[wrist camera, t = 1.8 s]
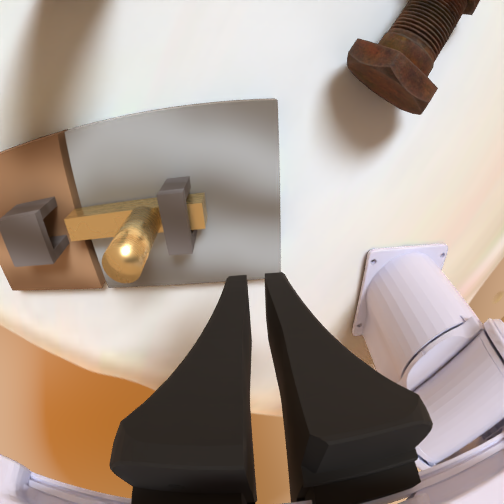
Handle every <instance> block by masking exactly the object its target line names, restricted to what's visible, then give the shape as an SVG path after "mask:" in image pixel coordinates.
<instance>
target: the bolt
mask: <svg viewBox="0 0 504 504" xmlns="http://www.w3.org/2000/svg"><path fill="white" fill-rule="evenodd" d="M479 1H480V0H410V1H409V2H408V4H407V5H406V7H405V8H404V9H403V11H402V13H401V14H400V16H399V17H398V18H397V20H396V21H395V23H394V24H393V26H392V27H391V29H390V30H389V32H388V33H386V34H385V35H384V36H383V38H382V39H381V41H380V42H379V44H376V43H373V42H369V41H366V40H362V39H357V40H356V42H355V43H354V45H353V46H352V48H351V49H350V51H349V52H348V57H347V66H348V68H349V69H350V71H351V72H352V73H353V74H354V75H355V76H356V77H357V78H358V79H359V80H360V81H361V82H362V83H363V84H365V85H366V86H367V87H368V88H369V89H371V90H372V91H373V92H375V93H376V94H378V95H379V96H380V97H382V98H383V99H385V100H386V101H388V102H390V103H391V104H393V105H394V106H396V107H397V108H399V109H401V110H404V111H407V112H409V113H412V114H418V115H421V114H422V112H423V111H424V110H425V108H426V107H427V105H428V103H429V102H430V100H431V99H432V97H433V95H434V94H435V92H436V91H437V89H438V88H437V87H436V86H435V85H434V84H433V83H432V81H431V80H430V79H429V78H428V75H429V73H430V72H431V70H432V68H433V64H434V61H435V60H436V58H437V57H438V54H439V53H440V51H441V50H442V48H443V47H444V45H445V43H446V42H447V40H448V39H449V37H450V35H451V33H452V32H453V30H454V28H455V26H456V24H457V22H458V21H459V19H460V18H461V15H462V14H468V15H472V14H473V13H474V11H475V9H476V7H477V5H478V3H479Z"/></svg>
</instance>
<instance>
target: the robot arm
mask: <svg viewBox="0 0 504 504" xmlns="http://www.w3.org/2000/svg"><path fill="white" fill-rule="evenodd" d="M447 251H448V246H447V245H446V244H445V243H440V244H428V245H416V246H403V247H390V248H378V249H372V250H370V251H369V252H368V254H367V260H366V266H365V271H364V276H363V282H362V287H361V292H360V296H359V301H358V306H357V310H356V315H355V319H354V324H353V328H352V334H353V335H354V336H360V335H363V338H364V340H365V342H366V345H367V347H368V350H369V353H370V355H371V358H372V360H373V363H374V365H375V368H376V370H374V369H373V368H371V367H370V366H369V365H367V364H366V363H365V362H363V361H362V360H360V359H359V358H358V357H356V356H355V355H354V354H353V353H351V352H350V351H349V350H348V349H347V348H346V347H344V346H343V345H342V344H341V343H340V342H339V341H338V340H337V339H336V338H335V337H334V336H332V335H331V334H330V333H329V332H328V330H327V329H326V328H325V327H324V326H323V325H322V324H321V323H320V322H319V321H318V320H317V319H316V317H315V316H314V315H313V314H312V313H311V311H310V310H309V309H308V308H307V306H306V305H305V304H304V303H303V301H302V300H301V299H300V297H299V296H298V295H297V293H296V292H295V290H294V289H293V287H292V286H291V284H290V283H289V281H288V279H287V278H286V276H285V274H284V273H282V272H277V273H265V300H266V321H267V330H268V340H269V345H270V349H271V354H272V358H273V363H274V368H275V372H276V377H277V381H278V386H279V390H280V396H281V402H282V411H283V419H284V429H285V439H286V449H287V459H288V471H289V483H290V495H291V503H284V504H388V503H392V502H394V501H398V500H401V499H403V498H406V497H408V498H407V499H406V501H403V502H401V503H398V504H504V323H503V322H502V321H501V320H500V319H491V318H489V319H488V320H487V321H486V322H485V323H484V324H483V323H481V321H480V320H479V319H478V317H477V316H476V314H475V313H474V312H473V311H472V309H471V308H470V306H469V305H468V304H467V302H466V301H465V300H464V298H463V297H462V296H461V294H460V293H459V292H458V290H457V289H456V288H455V287H454V285H453V284H452V283H451V282H450V280H449V279H448V278H447V277H446V275H445V274H444V273H443V272H442V268H443V264H444V261H445V258H446V255H447ZM373 259H375V260H374V261H373V262H371V261H372V260H373ZM251 347H252V339H251V325H250V311H249V299H248V286H247V275H236V276H229V277H228V278H227V279H226V283H225V286H224V289H223V292H222V294H221V297H220V299H219V301H218V303H217V306H216V308H215V310H214V312H213V314H212V316H211V318H210V320H209V321H208V323H207V325H206V327H205V328H204V330H203V332H202V334H201V335H200V337H199V338H198V340H197V342H196V343H195V345H194V346H193V348H192V349H191V350H190V352H189V353H188V355H187V356H186V357H185V359H184V360H183V361H182V362H181V364H180V365H179V366H178V367H177V369H176V370H175V371H174V372H173V373H172V375H171V376H170V377H169V378H168V379H167V380H166V381H165V382H164V383H163V384H162V385H161V386H160V387H159V388H158V389H157V390H156V391H155V392H154V393H153V394H152V395H151V396H150V397H149V398H148V399H147V400H146V401H145V402H144V403H143V404H142V405H140V406H139V407H138V408H137V409H136V410H134V411H133V412H132V413H131V414H130V415H128V416H127V417H126V418H125V419H123V420H122V421H121V423H120V425H119V428H118V431H117V433H116V437H115V439H114V443H113V448H112V454H111V459H110V469H111V470H112V471H113V472H114V473H115V474H116V475H117V476H118V477H120V478H121V479H123V480H124V481H125V482H127V483H128V484H130V485H132V486H133V491H132V499H129V498H123V497H118V496H113V495H108V494H104V493H100V492H95V491H91V490H87V489H83V488H80V487H76V486H72V485H69V484H66V483H63V482H59V481H56V480H53V479H50V478H47V477H45V476H42V475H39V474H36V473H34V472H31V471H30V470H29V469H28V468H26V467H25V466H23V465H21V464H20V463H18V462H16V461H14V460H12V459H10V458H8V457H5V456H3V455H1V454H0V504H255V502H256V501H257V495H256V482H255V469H254V456H253V442H252V428H251V413H250V375H251ZM417 468H419V469H420V470H421V471H420V472H418V470H417Z"/></svg>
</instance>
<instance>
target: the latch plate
mask: <svg viewBox="0 0 504 504" xmlns="http://www.w3.org/2000/svg"><path fill="white" fill-rule="evenodd" d="M204 192H205V200H206V208H207V216H208V217H207V223H206V229H196V230H191V229H190V223H189V216H188V210H187V204H186V199H187V196H188V194H194V193H204ZM156 197H157V201H158V206H159V211H160V216H161V221H162V226H163V231H164V232H161V233H158V234H157V237H156V239H155V241H154V244H153V246H152V248H151V251H150V253H149V256H148V258H147V260H146V263H145V265H144V268H143V270H142V273H141V275H140V277H139V278H138V279H137V280H136V281H134V282H132V283H120V282H117V281H115V280H113V279H112V278H110V277H109V276H108V275H107V274H106V272H105V271H104V269H103V266H102V257H103V254H104V253H105V251H106V249H107V248H108V246H109V245H110V243H111V241H112V240H113V238H114V237H109V238H99V239H89V240H80V241H71V239H70V236H69V233H68V230H67V227H66V224H65V221H64V219H65V218H66V217H67V216H68V215H69V214H70V213H71V212H72V211H73V210H74V209H75V208H82V207H88V206H95V205H102V204H109V203H116V202H123V201H131V200H139V199H147V198H156ZM0 265H1V267H2V270H3V272H4V274H5V276H6V278H7V280H8V282H9V284H10V286H11V288H12V290H56V289H89V288H102V287H103V285H104V283H105V281H106V282H107V285H108V287H109V288H115V287H137V286H157V285H176V284H193V283H209V282H225V281H226V279H227V278H228V277H229V276H236V275H247V280H253V279H265V273H277V272H281V231H280V167H279V130H278V102H277V100H276V99H274V98H273V99H249V100H233V101H221V102H210V103H201V104H192V105H184V106H177V107H170V108H164V109H157V110H151V111H146V112H140V113H135V114H130V115H125V116H120V117H115V118H111V119H106V120H102V121H98V122H94V123H90V124H86V125H82V126H78V127H75V128H72V129H70V130H68V129H67V130H64V131H60V132H57V133H54V134H50V135H47V136H44V137H41V138H38V139H35V140H32V141H29V142H26V143H23V144H21V145H18V146H15V147H12V148H10V149H7V150H5V151H2V152H0Z"/></svg>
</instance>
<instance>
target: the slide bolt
mask: <svg viewBox="0 0 504 504" xmlns="http://www.w3.org/2000/svg"><path fill="white" fill-rule="evenodd" d="M186 204H187V210H188V216H189V223H190V229H191V230H196V229H206V223H207V217H208V216H207V208H206V200H205V192H204V193H194V194H188V196H187V199H186ZM64 221H65V224H66V227H67V230H68V233H69V236H70V239H71V241H80V240H89V239H99V238H109V237H114V238H113V240H112V241H111V243H110V245H109V246H108V248H107V249H106V251H105V253H104V254H103V257H102V266H103V269H104V271H105V272H106V274H107V275H108V276H109V277H110V278H112V279H113V280H115V281H117V282H120V283H132V282H134V281H136V280H137V279H138V278H139V277H140V275H141V273H142V270H143V268H144V265H145V263H146V260H147V258H148V256H149V253H150V251H151V248H152V246H153V244H154V241H155V239H156V237H157V234H158V233H161V232H164V231H163V226H162V221H161V216H160V211H159V206H158V201H157V197H156V198H147V199H139V200H131V201H123V202H116V203H109V204H102V205H95V206H88V207H82V208H75V209H74V210H73V211H72V212H71V213H70V214H69V215H68V216H67V217H66V218H65V219H64Z"/></svg>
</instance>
